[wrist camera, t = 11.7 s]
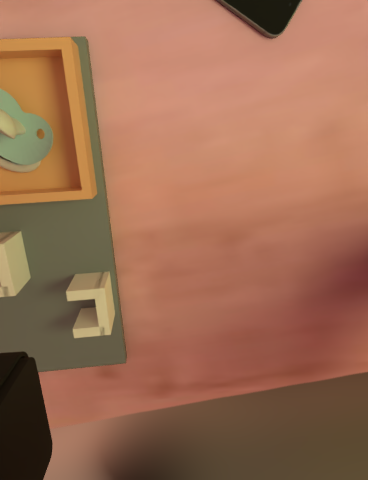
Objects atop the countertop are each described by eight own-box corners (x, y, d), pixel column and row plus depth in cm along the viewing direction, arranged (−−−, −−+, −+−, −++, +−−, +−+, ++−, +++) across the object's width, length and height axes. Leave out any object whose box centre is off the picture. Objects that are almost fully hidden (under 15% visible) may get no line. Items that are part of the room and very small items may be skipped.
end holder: (78, 46, 28) (70, 37, 26) (97, 193, 32) (92, 198, 29) (-78, 51, 27) (-103, 42, 25) (-39, 202, 31) (-57, 208, 29)
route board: (87, 40, 29) (74, 21, 24) (126, 356, 39) (122, 388, 34) (-80, 45, 28) (-129, 27, 23) (4, 368, 38) (-18, 403, 33)
